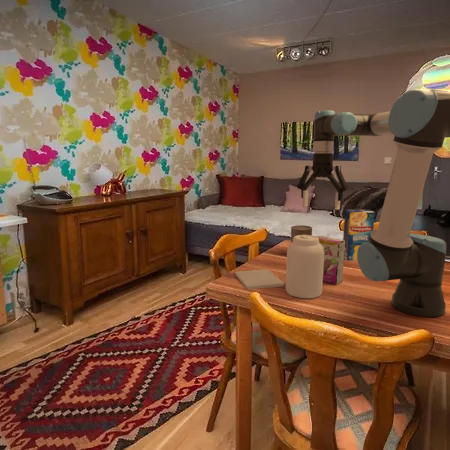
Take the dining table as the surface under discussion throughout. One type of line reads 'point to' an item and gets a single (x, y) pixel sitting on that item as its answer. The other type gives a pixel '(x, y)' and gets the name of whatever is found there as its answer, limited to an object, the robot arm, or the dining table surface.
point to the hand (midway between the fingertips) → (320, 208)
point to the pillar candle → (300, 231)
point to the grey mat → (258, 279)
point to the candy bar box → (332, 259)
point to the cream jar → (304, 267)
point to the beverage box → (356, 231)
